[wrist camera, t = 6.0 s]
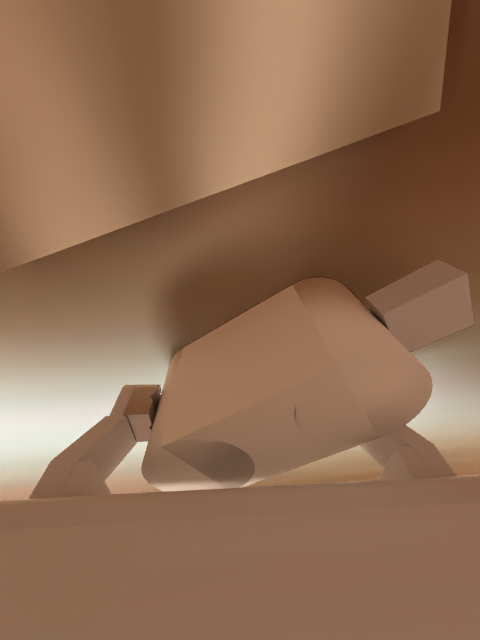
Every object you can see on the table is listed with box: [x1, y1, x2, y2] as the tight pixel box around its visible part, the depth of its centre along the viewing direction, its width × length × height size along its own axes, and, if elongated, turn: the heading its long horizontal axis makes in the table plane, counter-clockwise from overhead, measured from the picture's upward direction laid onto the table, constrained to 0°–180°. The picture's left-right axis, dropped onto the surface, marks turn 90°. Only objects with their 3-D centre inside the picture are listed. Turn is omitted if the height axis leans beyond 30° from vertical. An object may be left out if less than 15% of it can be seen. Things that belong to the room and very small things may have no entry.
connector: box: [141, 259, 474, 492], centre depth 10 cm, size 12×4×5 cm, turn 123°
